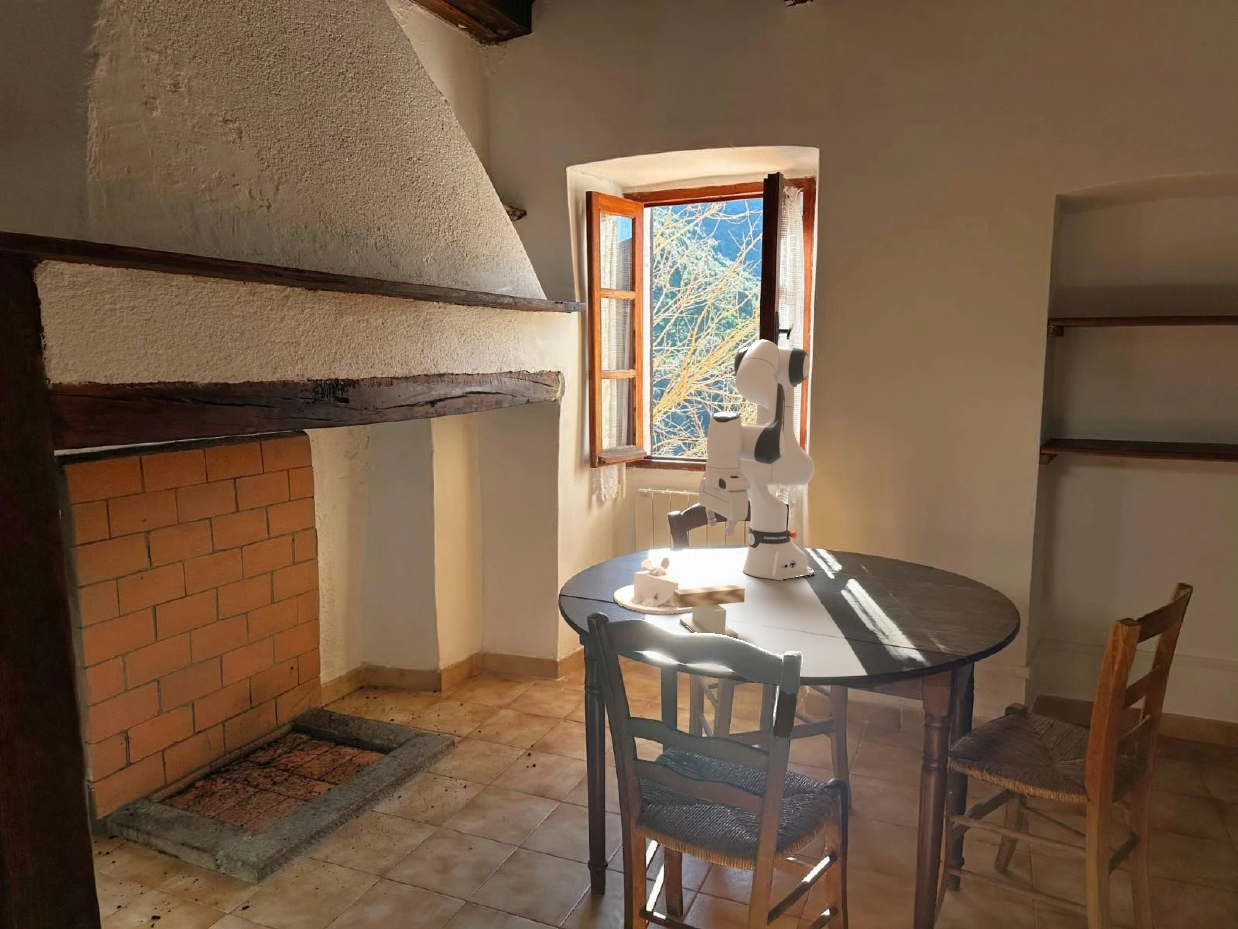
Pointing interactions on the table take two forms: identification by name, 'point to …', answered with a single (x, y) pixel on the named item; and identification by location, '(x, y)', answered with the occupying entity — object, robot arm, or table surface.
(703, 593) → the beech bar
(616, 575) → the table surface
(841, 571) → the table surface
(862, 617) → the table surface
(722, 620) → the ridge block
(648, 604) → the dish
